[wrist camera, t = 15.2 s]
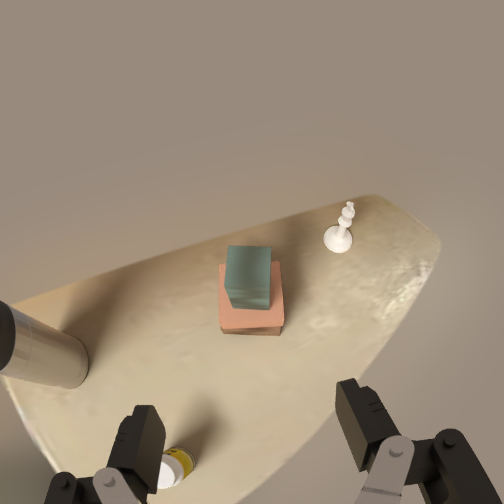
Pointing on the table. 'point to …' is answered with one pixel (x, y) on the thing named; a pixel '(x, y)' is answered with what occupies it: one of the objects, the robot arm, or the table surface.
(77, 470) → the table surface
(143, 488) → the robot arm
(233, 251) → the green pillar block
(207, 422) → the table surface
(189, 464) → the supplement bottle
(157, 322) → the table surface
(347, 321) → the table surface
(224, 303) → the terracotta top block
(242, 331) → the walnut base block
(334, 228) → the chess piece
